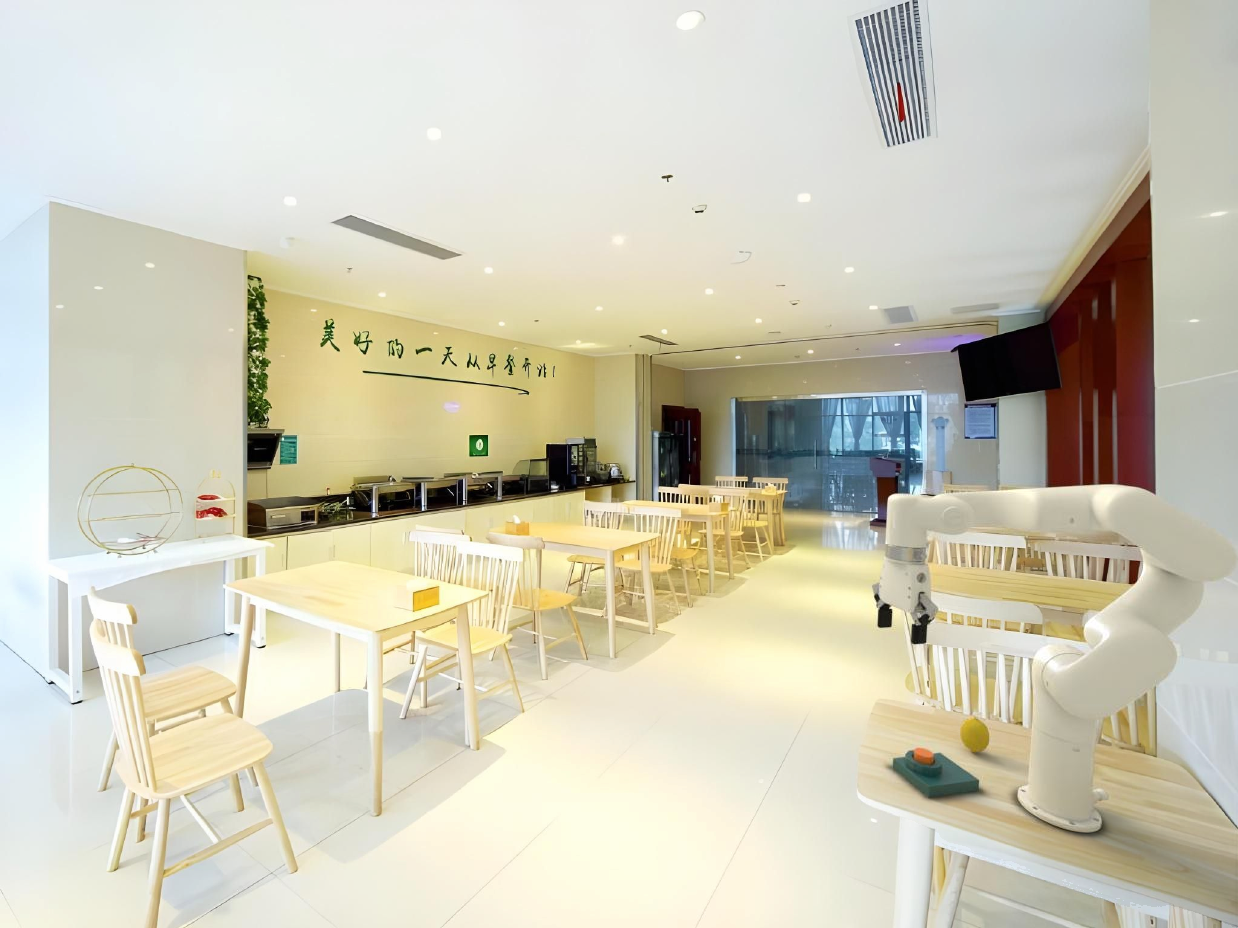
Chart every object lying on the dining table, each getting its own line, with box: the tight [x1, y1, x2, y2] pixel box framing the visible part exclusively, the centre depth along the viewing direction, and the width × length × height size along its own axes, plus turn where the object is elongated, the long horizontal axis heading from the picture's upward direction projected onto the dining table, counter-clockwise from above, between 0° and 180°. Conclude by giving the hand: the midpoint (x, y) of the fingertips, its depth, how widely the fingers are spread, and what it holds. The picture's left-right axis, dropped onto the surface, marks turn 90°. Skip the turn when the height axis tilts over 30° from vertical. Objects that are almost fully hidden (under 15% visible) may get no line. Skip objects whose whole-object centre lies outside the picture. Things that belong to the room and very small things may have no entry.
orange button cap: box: [913, 747, 934, 765], centre depth 116 cm, size 4×4×2 cm
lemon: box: [959, 717, 990, 754], centre depth 126 cm, size 6×6×8 cm
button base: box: [892, 749, 980, 798], centre depth 115 cm, size 12×10×4 cm
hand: (900, 635), depth 116 cm, fingers open, 9 cm apart
